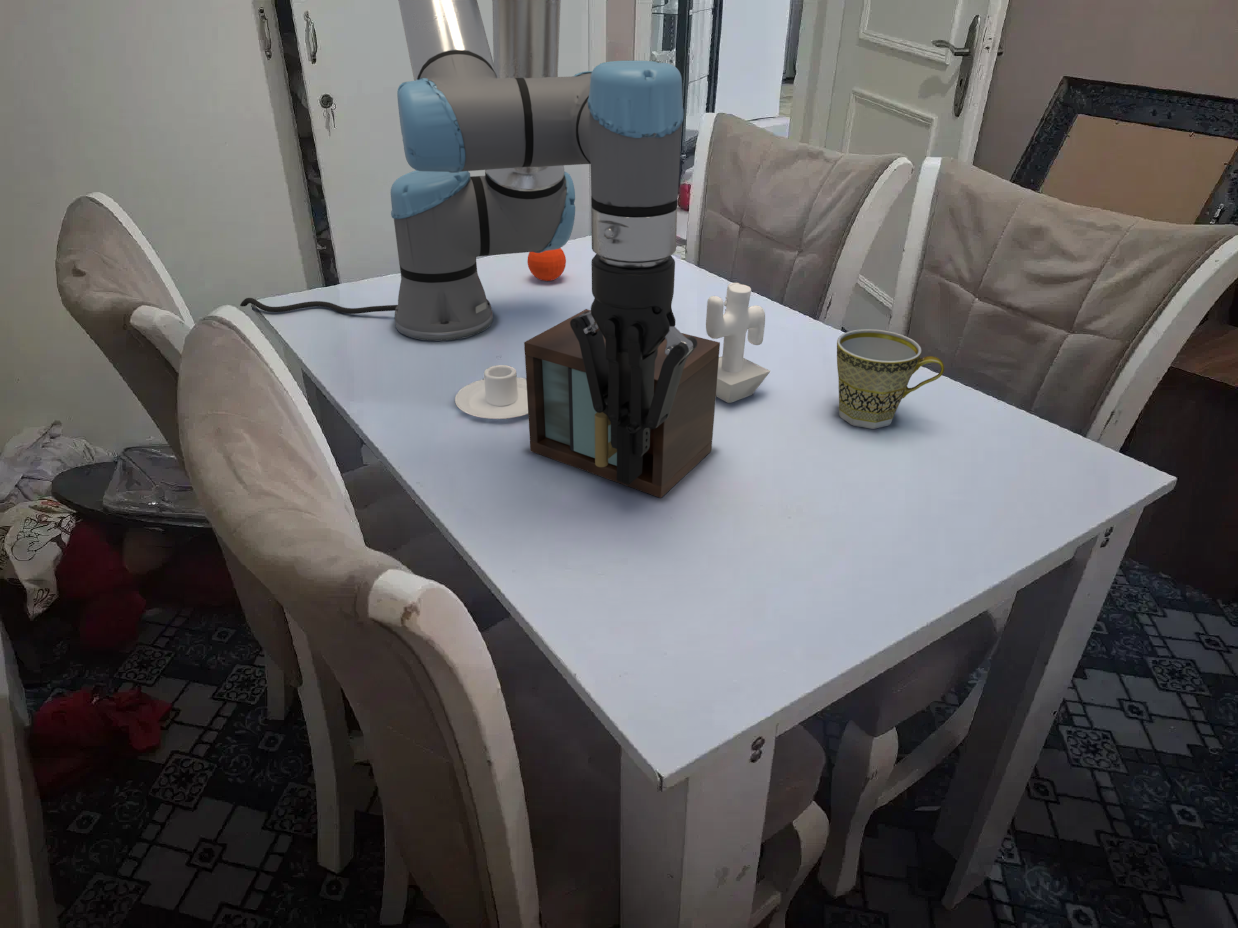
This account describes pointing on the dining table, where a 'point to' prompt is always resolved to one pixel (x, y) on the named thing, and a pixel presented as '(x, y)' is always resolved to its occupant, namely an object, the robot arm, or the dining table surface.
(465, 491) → the dining table surface
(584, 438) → the glass door
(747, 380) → the figurine
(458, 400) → the candle holder
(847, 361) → the ceramic cup
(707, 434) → the cabinet
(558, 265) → the clementine
